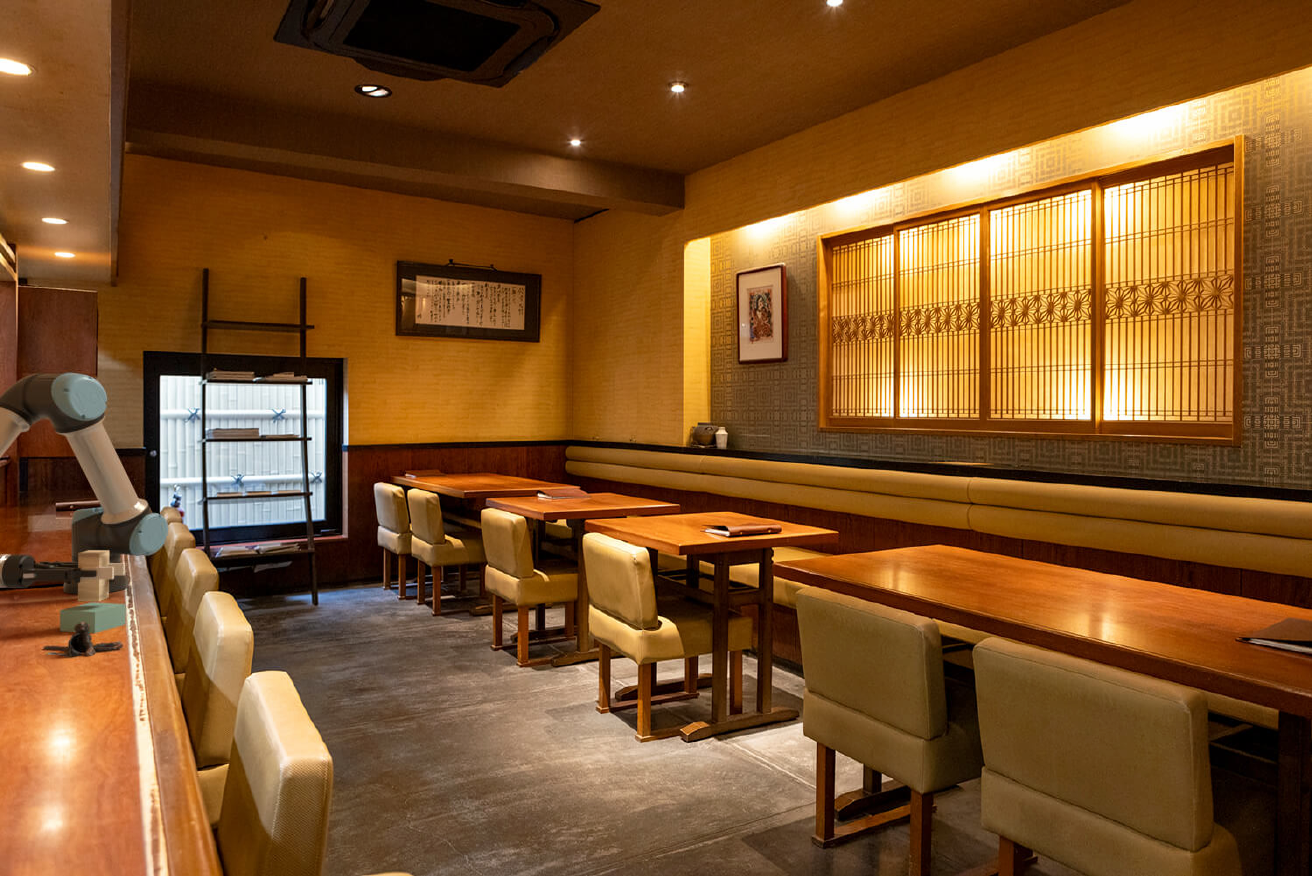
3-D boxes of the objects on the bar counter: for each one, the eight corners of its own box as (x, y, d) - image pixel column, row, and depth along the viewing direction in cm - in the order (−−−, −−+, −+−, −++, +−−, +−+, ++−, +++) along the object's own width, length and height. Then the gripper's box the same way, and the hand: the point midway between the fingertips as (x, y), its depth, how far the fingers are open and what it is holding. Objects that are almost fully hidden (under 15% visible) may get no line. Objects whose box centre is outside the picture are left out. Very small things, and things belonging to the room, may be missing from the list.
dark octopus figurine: (122, 649, 181) (65, 620, 177) (89, 691, 179) (31, 663, 174) (127, 635, 192) (74, 608, 187) (97, 675, 190) (42, 648, 185)
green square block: (91, 623, 208) (92, 602, 208) (125, 625, 207) (125, 604, 206) (60, 632, 199) (60, 610, 199) (94, 634, 198) (95, 612, 198)
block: (88, 597, 205) (88, 550, 205) (108, 597, 205) (109, 550, 205) (77, 601, 200) (78, 553, 200) (98, 601, 201) (99, 553, 201)
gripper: (32, 580, 209) (136, 580, 212) (-16, 595, 192) (99, 594, 195) (32, 549, 209) (136, 549, 212) (-15, 560, 192) (99, 560, 195)
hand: (118, 571), depth 203 cm, fingers closed on block, 4 cm apart
